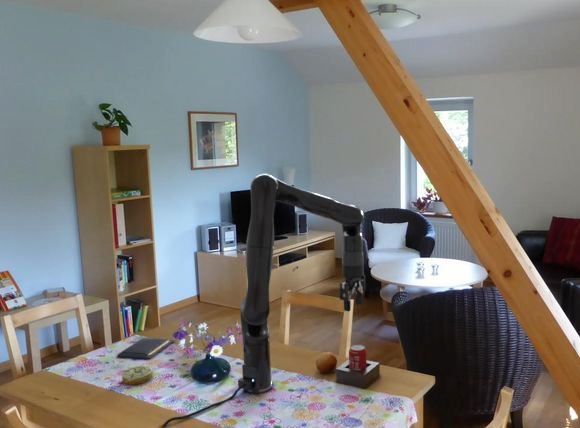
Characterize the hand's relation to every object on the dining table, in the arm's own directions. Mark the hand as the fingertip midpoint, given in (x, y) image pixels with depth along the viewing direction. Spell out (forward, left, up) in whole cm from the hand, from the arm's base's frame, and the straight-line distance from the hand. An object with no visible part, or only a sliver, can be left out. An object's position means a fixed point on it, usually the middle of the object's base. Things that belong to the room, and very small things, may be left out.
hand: (353, 307), depth 201 cm
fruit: (+2, +13, -27) cm, 30 cm away
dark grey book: (-14, +92, -27) cm, 97 cm away
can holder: (+1, -1, -27) cm, 27 cm away
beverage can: (+1, -1, -27) cm, 27 cm away
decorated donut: (-36, +71, -27) cm, 84 cm away
